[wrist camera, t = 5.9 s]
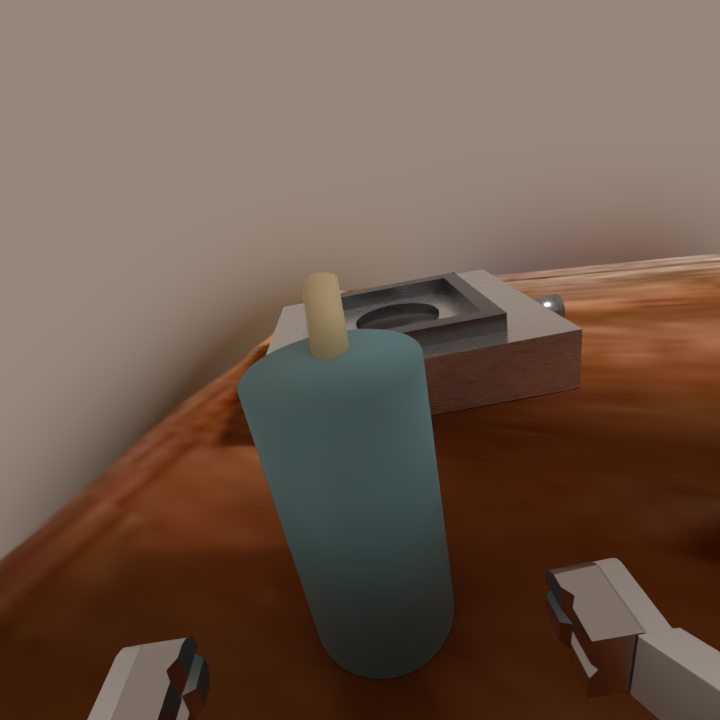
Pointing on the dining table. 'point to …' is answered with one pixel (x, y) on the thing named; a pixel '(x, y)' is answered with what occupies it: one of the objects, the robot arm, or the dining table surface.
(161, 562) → the dining table surface
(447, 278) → the ball socket block
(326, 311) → the spout can
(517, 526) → the dining table surface
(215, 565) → the dining table surface
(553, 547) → the dining table surface
